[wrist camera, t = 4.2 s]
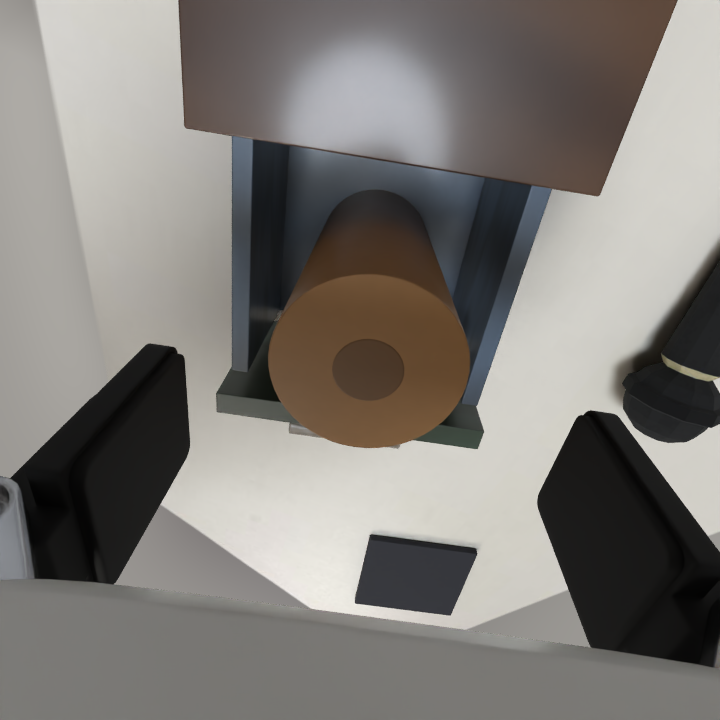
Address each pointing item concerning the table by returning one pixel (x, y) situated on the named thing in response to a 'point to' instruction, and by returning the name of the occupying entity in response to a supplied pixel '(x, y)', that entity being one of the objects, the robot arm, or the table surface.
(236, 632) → the robot arm
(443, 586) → the mat
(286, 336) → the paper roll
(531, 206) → the drawer
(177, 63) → the table surface
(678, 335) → the microphone
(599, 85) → the cabinet
